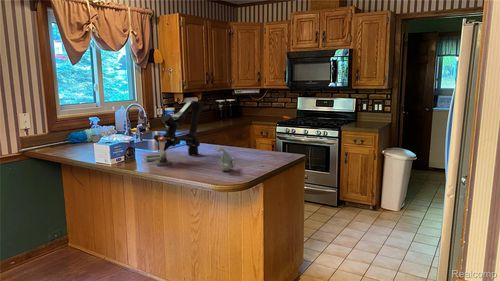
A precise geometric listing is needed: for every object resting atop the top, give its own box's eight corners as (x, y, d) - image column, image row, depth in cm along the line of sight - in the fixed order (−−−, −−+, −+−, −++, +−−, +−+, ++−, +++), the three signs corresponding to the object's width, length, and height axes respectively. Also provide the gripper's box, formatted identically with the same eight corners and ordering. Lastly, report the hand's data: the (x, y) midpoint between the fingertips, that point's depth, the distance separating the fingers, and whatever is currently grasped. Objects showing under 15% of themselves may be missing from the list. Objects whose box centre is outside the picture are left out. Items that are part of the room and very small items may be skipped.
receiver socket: (169, 161, 245) (169, 158, 245) (172, 164, 237) (172, 161, 237) (155, 163, 242) (154, 160, 241) (157, 166, 233) (157, 163, 233)
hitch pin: (167, 160, 243) (165, 136, 240) (169, 162, 238) (167, 138, 235) (158, 161, 240) (156, 137, 237) (160, 163, 235) (158, 139, 232)
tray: (163, 156, 261) (163, 154, 261) (166, 159, 252) (166, 157, 252) (144, 158, 255) (144, 156, 255) (147, 161, 246) (147, 159, 246)
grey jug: (217, 167, 228) (216, 143, 226) (234, 167, 229) (233, 143, 227) (217, 174, 212) (216, 149, 209) (235, 173, 213) (234, 148, 210)
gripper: (188, 138, 246) (179, 158, 238) (166, 137, 254) (156, 155, 246) (180, 128, 238) (170, 148, 230) (158, 127, 246) (147, 146, 238)
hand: (161, 150), depth 236 cm, fingers closed on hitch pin, 4 cm apart
